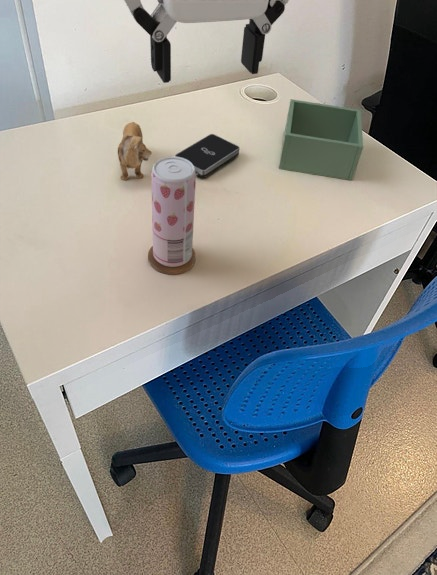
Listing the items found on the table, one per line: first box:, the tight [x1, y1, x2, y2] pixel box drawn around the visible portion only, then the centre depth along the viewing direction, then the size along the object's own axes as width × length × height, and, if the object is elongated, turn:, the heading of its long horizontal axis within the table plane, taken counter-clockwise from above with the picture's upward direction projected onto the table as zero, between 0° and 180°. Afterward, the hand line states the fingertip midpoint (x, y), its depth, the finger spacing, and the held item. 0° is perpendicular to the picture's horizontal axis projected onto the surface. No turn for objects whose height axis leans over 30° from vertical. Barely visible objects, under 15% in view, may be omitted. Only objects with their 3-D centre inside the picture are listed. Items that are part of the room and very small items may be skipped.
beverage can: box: [150, 155, 197, 267], centre depth 67 cm, size 6×6×15 cm
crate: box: [278, 98, 364, 181], centre depth 93 cm, size 14×14×7 cm
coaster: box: [147, 245, 197, 276], centre depth 73 cm, size 7×7×1 cm
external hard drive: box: [174, 133, 240, 179], centre depth 91 cm, size 7×11×2 cm, turn 142°
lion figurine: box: [117, 121, 153, 181], centre depth 85 cm, size 15×5×9 cm, turn 13°
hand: (207, 72), depth 52 cm, fingers open, 9 cm apart
